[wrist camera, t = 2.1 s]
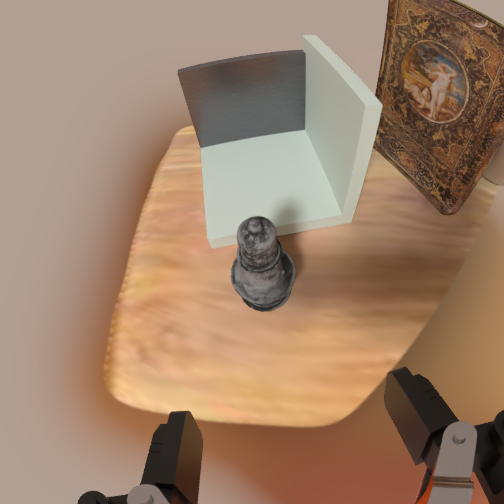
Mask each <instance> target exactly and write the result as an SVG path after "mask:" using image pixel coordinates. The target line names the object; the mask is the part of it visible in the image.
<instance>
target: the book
mask: <svg viewBox="0 0 504 504" xmlns="http://www.w3.org/2000/svg"><path fill="white" fill-rule="evenodd" d="M375 96H376V98H377V99H378V100H379V101H380V102H381V104H382V105H383V106H382V111H381V115H380V120H379V124H378V128H377V133H376V137H375V141H374V145H373V147H374V148H375V149H376V150H377V151H378V152H379V153H380V154H381V155H382V156H383V157H384V158H386V159H387V160H388V161H389V162H390V163H391V164H392V165H393V166H394V167H396V168H397V169H398V170H399V171H400V172H401V173H402V174H403V175H404V176H405V177H406V178H407V179H408V180H409V181H410V182H411V183H412V184H413V185H414V186H415V187H416V188H417V189H418V190H419V191H420V192H421V193H422V194H423V195H424V196H425V197H426V198H427V199H428V200H429V201H430V202H431V203H432V204H433V205H434V206H435V207H436V208H437V209H438V210H439V211H440V213H441V214H444V215H453V214H455V213H456V212H458V210H459V209H460V208H461V206H462V205H463V203H464V202H465V200H466V199H467V198H468V196H469V195H470V193H471V192H472V190H473V188H474V187H475V185H476V184H477V182H478V181H479V179H480V178H481V176H482V174H483V173H484V171H485V169H486V168H487V166H488V164H489V163H490V161H491V159H492V158H493V156H494V154H495V152H496V151H497V149H498V147H499V145H500V144H501V142H502V140H503V138H504V26H503V25H502V24H500V23H498V22H497V21H495V20H493V19H491V18H490V17H488V16H486V15H484V14H482V13H481V12H479V11H477V10H475V9H473V8H471V7H469V6H467V5H465V4H463V3H461V2H458V1H456V0H389V4H388V13H387V22H386V31H385V38H384V46H383V52H382V59H381V65H380V71H379V77H378V83H377V89H376V94H375Z"/></svg>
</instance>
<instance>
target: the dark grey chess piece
mask: <svg viewBox="0 0 504 504" xmlns="http://www.w3.org/2000/svg"><path fill="white" fill-rule="evenodd" d="M236 238H237V242H238V245H239V247H238V250H237V258H236V259H235V261H234V263H233V266H232V268H231V280H232V284H233V286H234V288H235V290H236V292H237V293H238V294H239V295H240V296H241V297H242V299H243V301H244V302H245V303H246V304H247V305H248V306H249V307H251V308H252V309H254V310H258V311H262V312H264V311H272V310H276V309H278V308H279V307H281V306H282V305H283V304H284V303H285V302H286V301H287V300H288V298H289V296H290V293H291V289H292V286H293V284H294V280H295V276H296V273H295V265H294V262H293V260H292V259H291V257H290V256H289V254H288V253H287V252H285V251H284V250H283V249H282V247H281V244H280V242H279V241H278V240H277V235H276V229H275V226H274V224H273V223H272V222H271V221H270V220H269V219H267V218H265V217H262V216H253V217H250V218H248V219H246V220H244V221H243V222H242V223H241V224H240V226H239V227H238V230H237V237H236Z"/></svg>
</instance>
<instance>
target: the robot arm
mask: <svg viewBox="0 0 504 504" xmlns="http://www.w3.org/2000/svg"><path fill="white" fill-rule="evenodd" d="M482 175H483V176H484V177H485V178H486V179H488V180H489V181H491V182H493V183H495V184H497V185H504V138H503V140H502V142H501V144H500V145H499V147H498V149H497V151H496V152H495V154H494V156H493V158H492V159H491V161H490V163H489V164H488V166H487V168H486V169H485V171H484V173H483V174H482ZM384 402H385V406H386V409H387V411H388V413H389V415H390V417H391V419H392V420H393V422H394V424H395V426H396V428H397V429H398V432H399V434H400V436H401V437H402V439H403V441H404V443H405V445H406V447H407V449H408V451H409V453H410V455H411V457H412V459H413V461H414V463H415V465H418V464H420V463H423V462H425V464H426V466H427V468H426V470H425V473H424V477H423V480H422V483H421V486H420V489H419V491H418V494H417V497H416V500H415V502H414V504H470V501H471V497H472V493H473V488H474V487H473V486H474V483H473V482H471V473H472V472H473V471H474V472H475V474H476V476H477V478H478V480H479V482H480V484H481V486H482V488H483V490H484V493H485V495H486V497H487V498H488V501H489V503H490V504H504V410H503V411H501V412H500V413H499V414H497V416H496V418H495V419H494V421H492V422H488V423H484V424H480V425H476V426H473V425H472V424H470V423H468V422H464V421H459V420H458V419H457V417H456V416H455V415H454V413H453V412H452V411H451V409H450V408H449V407H448V405H447V404H446V403H445V401H444V400H443V398H442V397H441V396H439V393H438V392H437V390H436V389H434V387H433V385H432V384H431V383H430V381H429V380H428V379H426V378H425V377H423V376H421V375H419V374H417V375H415V376H413V375H412V374H411V372H410V371H409V370H408V368H407V367H402V368H399V369H396V370H393V371H390V372H388V373H387V379H386V387H385V395H384ZM202 450H203V438H202V434H201V432H200V430H199V428H198V426H197V424H196V422H195V420H194V418H193V416H192V414H191V412H190V411H175V412H171V413H170V415H169V419H168V423H167V424H160V426H159V427H158V428H157V430H156V431H155V432H154V435H153V438H152V442H151V446H150V449H149V453H148V457H147V461H146V465H145V469H144V473H143V477H142V481H141V483H140V485H139V486H136V487H134V488H133V489H132V490H131V491H130V492H129V494H126V495H121V496H114V497H106V496H104V495H103V494H102V493H100V492H97V491H89V492H86V493H85V494H83V495H82V496H81V497H80V499H79V500H78V504H198V493H199V482H200V481H199V480H200V471H201V460H202Z"/></svg>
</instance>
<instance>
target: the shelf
mask: <svg viewBox="0 0 504 504" xmlns="http://www.w3.org/2000/svg"><path fill="white" fill-rule="evenodd" d="M302 45H303V46H302V49H303V50H293V51H280V52H270V53H262V54H255V55H247V56H240V57H234V58H229V59H223V60H218V61H213V62H209V63H204V64H199V65H195V66H191V67H187V68H183V69H179V70H178V76H179V79H180V83H181V86H182V89H183V93H184V96H185V99H186V103H187V106H188V109H189V113H190V116H191V119H192V122H193V125H194V129H195V132H196V135H197V138H198V141H199V145H200V148H201V162H202V177H203V191H204V204H205V216H206V228H207V239H208V242H209V244H210V246H211V248H212V249H214V248H219V247H224V246H229V245H235V244H238V242H237V238H236V237H237V230H238V227H239V226H240V224H241V223H242V222H243V221H244V220H246V219H248V218H250V217H253V216H262V217H265V218H267V219H269V220H270V221H271V222H272V223H273V224H274V226H275V229H276V235H277V236H282V235H287V234H292V233H298V232H303V231H308V230H314V229H319V228H325V227H330V226H335V225H341V224H346V223H351V222H352V219H353V216H354V212H355V209H356V206H357V203H358V199H359V196H360V192H361V189H362V186H363V182H364V179H365V175H366V171H367V168H368V164H369V160H370V157H371V153H372V149H373V145H374V141H375V137H376V133H377V128H378V124H379V120H380V115H381V111H382V106H383V105H382V104H381V102H380V101H379V100H378V99H377V98H376V96H375V95H374V94H373V93H372V92H371V91H370V90H369V88H368V87H367V86H366V85H365V84H364V83H363V82H362V81H361V80H360V79H359V77H358V76H357V75H356V74H355V73H354V72H353V71H352V70H351V69H350V68H349V67H348V66H347V65H346V64H345V63H344V62H343V61H342V60H341V59H340V58H339V57H338V56H337V55H336V54H335V53H334V52H333V51H332V50H331V49H330V48H329V47H327V46H326V45H325V44H324V43H323V42H322V41H321V40H320V39H319V38H317V37H316V36H315V35H302Z"/></svg>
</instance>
